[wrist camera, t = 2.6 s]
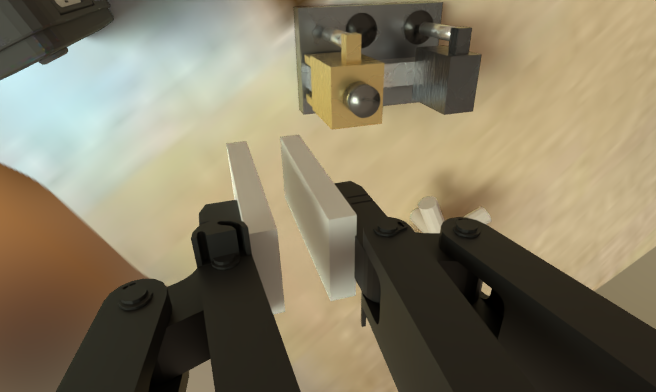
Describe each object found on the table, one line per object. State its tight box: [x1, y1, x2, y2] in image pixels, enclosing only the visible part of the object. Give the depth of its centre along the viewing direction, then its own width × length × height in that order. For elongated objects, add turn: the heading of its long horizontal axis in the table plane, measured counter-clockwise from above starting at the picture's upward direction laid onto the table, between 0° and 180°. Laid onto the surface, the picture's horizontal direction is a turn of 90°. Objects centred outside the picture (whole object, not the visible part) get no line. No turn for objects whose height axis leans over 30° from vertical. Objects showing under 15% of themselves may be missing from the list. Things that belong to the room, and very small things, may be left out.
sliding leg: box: [304, 27, 384, 129], centre depth 28 cm, size 4×6×8 cm, turn 2°
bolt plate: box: [294, 2, 482, 115], centre depth 30 cm, size 12×8×8 cm, turn 92°
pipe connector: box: [410, 196, 491, 233], centre depth 39 cm, size 10×10×10 cm
